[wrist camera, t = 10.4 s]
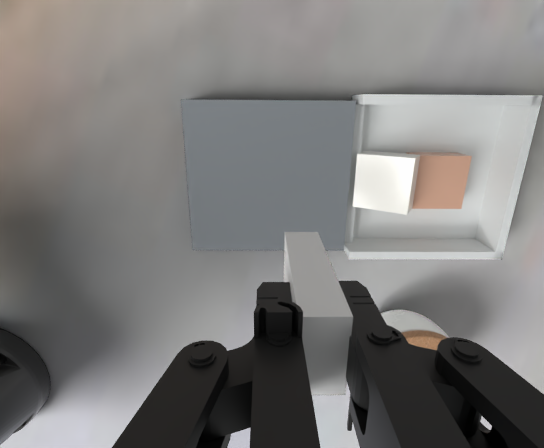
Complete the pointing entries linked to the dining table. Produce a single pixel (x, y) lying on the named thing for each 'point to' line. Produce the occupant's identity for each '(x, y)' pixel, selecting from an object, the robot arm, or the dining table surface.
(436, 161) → the tile
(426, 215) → the tray
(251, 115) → the board
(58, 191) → the dining table surface
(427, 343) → the lidded jar
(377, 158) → the tile
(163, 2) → the dining table surface
